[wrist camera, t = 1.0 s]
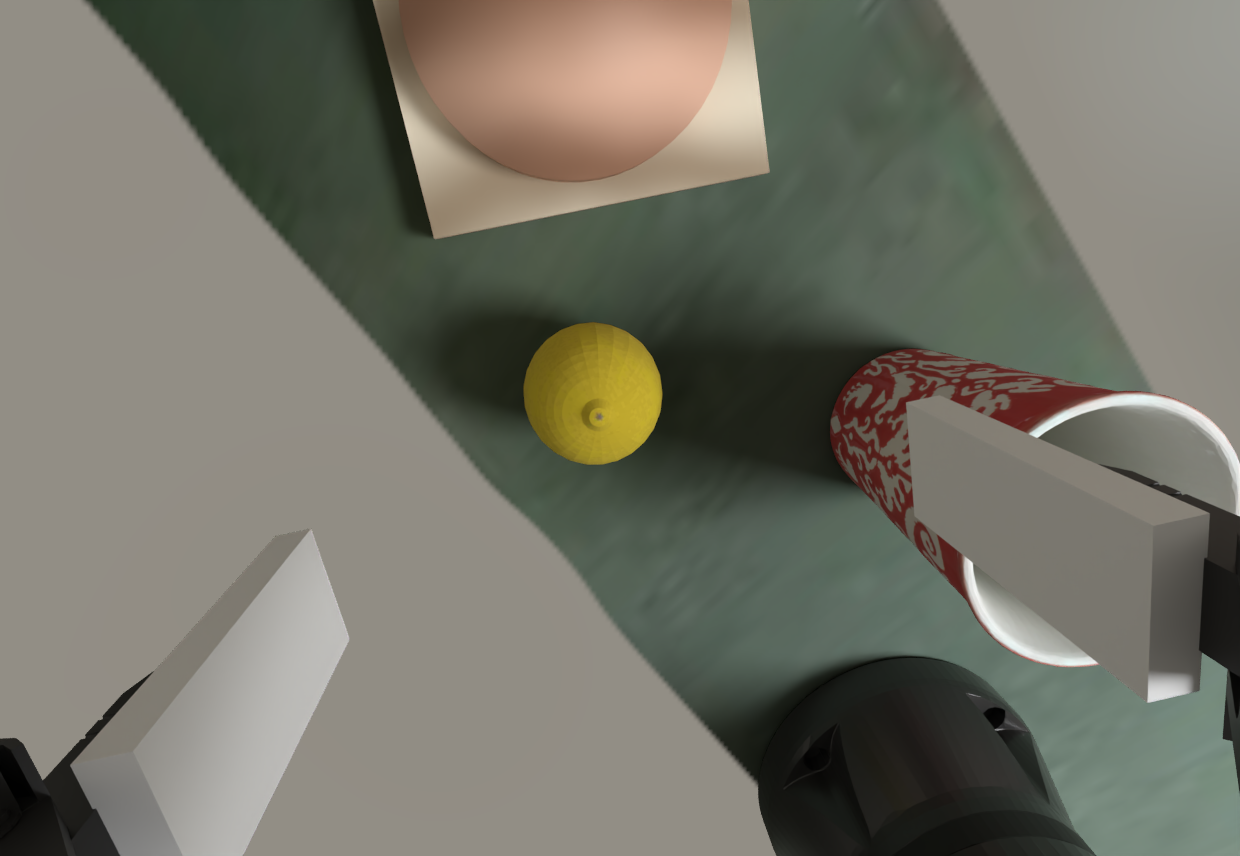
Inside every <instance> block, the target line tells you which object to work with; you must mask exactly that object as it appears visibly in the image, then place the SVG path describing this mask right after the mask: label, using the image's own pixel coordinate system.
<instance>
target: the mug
mask: <svg viewBox="0 0 1240 856" xmlns="http://www.w3.org/2000/svg"><path fill="white" fill-rule="evenodd" d="M938 395H940V396H942V397H945V398H947V399H949V400H952V401H954V402H956V403H958V404H961V405H963V406H965V407H968V408H970V409H972V410H975V411H977V412H979V413H981V414H984V415H986V416H988V417H991V418H993V419H995V420H997V421H1000V422H1002V423H1004V424H1007V425H1009V426H1011V427H1013V428H1016V429H1018V430H1020V431H1023V432H1025V433H1027V434H1029V435H1032V436H1034V437H1036V438H1039V439H1041V440H1043V441H1046V442H1048V443H1050V444H1052V445H1055V446H1057V447H1059V448H1062V449H1064V450H1066V451H1068V452H1071V453H1073V454H1075V455H1078V456H1080V457H1082V458H1084V459H1087V460H1089V461H1091V462H1094V463H1096V464H1101V465H1106V466H1111V467H1115V468H1120V469H1125V470H1130V471H1133V472H1136V473H1138V474H1140V475H1143V476H1145V477H1147V478H1150V479H1152V480H1155V481H1157V482H1159V484H1160V485H1166V486H1169V487H1171V488H1174V489H1176V490H1178V491H1181V494H1182V495H1184V494H1188V495H1190V496H1192V497H1195V498H1197V499H1200V500H1202V501H1204V502H1207V503H1209V504H1211V505H1214V506H1216V507H1219V508H1221V509H1223V510H1226V511H1228V512H1230V513H1233V514H1235V515H1237V516H1240V463H1239V461H1238V457H1237V454H1236V452H1235V451H1234V449H1233V448H1232V445H1231V443H1230V442H1229V440H1228V439H1227V437H1226V436H1225V435H1224V433H1223V432H1222V431H1221V430H1220V429H1219V428H1218V427H1217V426H1216V425H1215V424H1214V423H1213V422H1212V421H1211V420H1210V419H1209V418H1208V417H1206V416H1205V415H1204V414H1203V413H1201V412H1200V411H1198V410H1197V409H1196V408H1194V407H1192V406H1190V405H1188V404H1186V403H1184V402H1181V401H1179V400H1177V399H1174V398H1171V397H1168V396H1165V395H1160V394H1155V393H1150V392H1141V391H1112V390H1107V389H1102V388H1097V387H1094V386H1090V385H1085V384H1080V383H1076V382H1071V381H1067V380H1062V379H1058V378H1054V377H1049V376H1044V375H1039V374H1033V373H1029V372H1025V371H1020V370H1016V369H1012V368H1006V367H1002V366H998V365H994V364H990V363H984V362H979V361H975V360H971V359H966V358H961V357H957V356H953V355H951V354H946V353H939V352H935V351H930V350H923V349H903V350H897V351H893V352H890V353H887V354H884V355H882V356H880V357H877V358H876V359H874V360H872V361H870V362H869V363H867V364H866V365H864V366H863V367H862V368H860V369H859V370H858V371H857V372H856V373H855V374H854V375H853V376H852V377H851V378H850V380H849V381H848V382H847V384H846V385H845V386H844V388H843V389H842V391H841V393H840V395H839V396H838V398H837V401H836V404H835V406H834V409H833V413H832V417H831V425H830V438H831V445H832V448H833V452H834V454H835V457H836V459H837V461H838V463H839V464H840V466H841V467H842V469H843V470H844V471H845V473H846V474H847V475H848V476H849V477H850V478H851V479H852V480H853V481H854V482H855V483H856V485H857V486H858V487H859V488H861V489H862V490H863V491H864V492H865V493H866V494H867V495H868V497H869V498H870V499H871V500H872V501H873V502H874V503H875V504H876V505H877V506H878V507H879V508H880V509H881V510H882V511H883V512H884V513H885V515H886V516H887V517H888V518H889V519H890V520H891V521H892V522H893V523H894V524H895V525H896V526H897V527H898V528H899V529H900V531H901V532H902V533H903V534H904V535H905V536H906V537H907V538H908V539H909V540H910V541H911V542H912V543H913V544H914V545H915V546H916V548H917V549H918V550H919V551H920V552H921V553H922V554H923V556H924V557H925V558H926V559H927V560H928V561H929V562H930V563H931V564H932V565H933V566H934V567H935V568H936V569H937V570H938V571H939V572H940V573H941V574H942V575H943V576H944V577H945V578H946V579H947V581H948V582H949V583H950V584H951V585H952V586H953V587H954V588H955V589H956V590H957V591H958V592H959V593H960V594H961V595H962V596H963V597H964V598H965V599H966V600H967V602H968V604H969V606H970V608H971V610H972V612H973V614H974V615H975V617H976V619H977V620H978V622H979V623H980V624H981V626H982V627H983V628H984V630H985V631H986V632H987V633H988V634H989V635H990V636H991V637H992V638H993V639H994V640H996V641H997V642H998V643H999V644H1000V645H1002V646H1003V647H1005V648H1006V649H1008V650H1010V651H1011V652H1013V653H1015V654H1017V655H1019V656H1021V657H1024V658H1026V659H1029V660H1031V661H1034V662H1037V663H1042V664H1047V665H1053V666H1057V667H1083V666H1092V665H1099V664H1098V663H1097V662H1096V661H1095V660H1093V659H1092V658H1091V657H1090V656H1089V655H1087V654H1086V653H1085V652H1084V651H1082V650H1081V649H1080V648H1079V647H1077V646H1076V645H1075V644H1074V643H1072V642H1071V641H1070V640H1069V639H1067V638H1066V637H1065V636H1064V635H1062V634H1061V633H1060V632H1059V631H1057V630H1056V629H1055V628H1054V627H1052V626H1051V625H1050V624H1049V623H1047V622H1046V621H1045V620H1044V619H1042V618H1041V617H1040V616H1039V615H1037V614H1036V613H1035V612H1034V611H1032V610H1031V609H1030V608H1029V607H1027V606H1026V605H1025V604H1024V603H1022V602H1021V601H1020V600H1019V599H1017V598H1016V597H1015V596H1014V595H1012V594H1011V593H1010V592H1009V591H1007V590H1006V589H1005V588H1004V587H1002V586H1001V585H1000V584H999V583H997V582H996V581H995V580H994V579H992V578H991V577H990V576H989V575H987V574H986V573H985V572H984V571H982V570H981V569H980V568H979V567H977V566H976V565H975V564H974V563H972V562H971V561H970V560H969V559H967V558H966V557H965V556H964V555H962V554H961V553H960V552H959V551H957V550H956V549H955V548H954V547H952V546H951V545H950V544H949V543H947V542H946V541H945V540H944V539H942V538H941V537H940V536H939V535H937V534H936V533H935V532H934V531H932V530H931V529H930V528H929V527H927V526H926V525H925V524H924V523H922V522H921V521H920V520H919V519H917V518H916V517H915V516H914V503H913V490H912V476H911V463H910V450H909V436H908V423H907V409H906V402H910V401H915V400H920V399H924V398H929V397H934V396H938Z"/></svg>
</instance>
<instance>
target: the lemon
mask: <svg viewBox="0 0 1240 856" xmlns="http://www.w3.org/2000/svg"><path fill="white" fill-rule="evenodd" d="M523 389H524V403H525V409H526V412H527V415H528V418H529V421H530V423H531V426H532V427H533V429H534V430H535V432H536V433H537V435H538V436H539V438H540V439H541V441H543V442H544V443H545V444H546V445H547V446H548V447H549V448H550V449H551V450H553V451H554V452H555V453H557V454H559V455H561V456H562V457H564V458H566V459H568V460H570V461H574V462H578V463H582V464H606V463H610V462H614V461H618V460H620V459H622V458H624V457H626V456H628V455H630V454H632V453H633V452H634V451H635V450H636V449H637V448H639V447H640V446H641V445H642V444H643V443H644V442H645V441H646V439H647V438H648V436H649V435H650V434H651V432H652V431H653V429H654V427H655V425H656V422H657V419H658V417H659V414H660V411H661V403H662V394H663V393H662V386H661V379H660V374H659V371H658V369H657V367H656V364H655V362H654V360H653V357H652V356H651V355H650V353H649V352H648V351H647V349H646V348H645V347H644V345H643V344H642V343H641V342H640V341H638V340H637V339H636V338H635V337H633V336H632V335H631V334H629V333H628V332H626V331H624V330H622V329H619V328H617V327H615V326H612V325H608V324H602V323H595V322H591V323H582V324H575V325H573V326H570V327H567V328H565V329H562V330H560V331H558V332H557V333H556V334H554V335H553V336H551V337H550V338H548V339H547V340H546V341H545V342H544V343H543V344H542V346H541V347H540V348H539V349H538V350H537V352H536V353H535V354H534V356H533V358H532V360H531V362H530V364H529V367H528V369H527V372H526V377H525V382H524V387H523Z"/></svg>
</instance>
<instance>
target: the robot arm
mask: <svg viewBox="0 0 1240 856" xmlns="http://www.w3.org/2000/svg"><path fill="white" fill-rule="evenodd" d="M906 409H907V423H908V436H909V450H910V463H911V476H912V490H913V503H914V516H915V517H916V518H917V519H919V520H920V521H921V522H922V523H924V524H925V525H926V526H927V527H929V528H930V529H931V530H932V531H934V532H935V533H936V534H937V535H939V536H940V537H941V538H942V539H944V540H945V541H946V542H947V543H949V544H950V545H951V546H952V547H954V548H955V549H956V550H957V551H959V552H960V553H961V554H962V555H964V556H965V557H966V558H967V559H969V560H970V561H971V562H972V563H974V564H975V565H976V566H977V567H979V568H980V569H981V570H982V571H984V572H985V573H986V574H987V575H989V576H990V577H991V578H992V579H994V580H995V581H996V582H997V583H999V584H1000V585H1001V586H1002V587H1004V588H1005V589H1006V590H1007V591H1009V592H1010V593H1011V594H1012V595H1014V596H1015V597H1016V598H1017V599H1019V600H1020V601H1021V602H1022V603H1024V604H1025V605H1026V606H1027V607H1029V608H1030V609H1031V610H1032V611H1034V612H1035V613H1036V614H1037V615H1039V616H1040V617H1041V618H1042V619H1044V620H1045V621H1046V622H1047V623H1049V624H1050V625H1051V626H1052V627H1054V628H1055V629H1056V630H1057V631H1059V632H1060V633H1061V634H1062V635H1064V636H1065V637H1066V638H1067V639H1069V640H1070V641H1071V642H1072V643H1074V644H1075V645H1076V646H1077V647H1079V648H1080V649H1081V650H1082V651H1084V652H1085V653H1086V654H1087V655H1089V656H1090V657H1091V658H1092V659H1093V660H1095V661H1096V662H1097V663H1098V664H1100V665H1101V666H1102V667H1103V668H1105V669H1106V670H1107V671H1108V672H1110V673H1111V674H1112V675H1113V676H1115V677H1116V678H1117V679H1118V680H1120V681H1121V682H1122V683H1123V684H1125V685H1126V686H1127V687H1128V688H1130V689H1131V690H1132V691H1133V692H1135V693H1136V694H1137V695H1138V696H1140V697H1141V698H1142V699H1143V700H1145V701H1146V702H1147V703H1149V702H1153V701H1157V700H1162V699H1166V698H1171V697H1175V696H1179V695H1184V694H1188V693H1192V692H1197V691H1199V690H1200V673H1201V656H1202V653H1204V654H1205V655H1207V656H1208V657H1210V658H1212V659H1213V660H1215V661H1216V662H1218V663H1219V664H1221V665H1222V666H1224V667H1225V668H1227V669H1228V672H1227V686H1226V700H1225V714H1224V728H1223V739H1225V740H1230V741H1233V748H1234V755H1235V762H1236V770H1237V777H1238V784H1239V791H1240V516H1237V515H1235V514H1233V513H1230V512H1228V511H1226V510H1223V509H1221V508H1219V507H1216V506H1214V505H1211V504H1209V503H1207V502H1204V501H1202V500H1200V499H1197V498H1195V497H1192V496H1190V495H1188V494H1184V495H1182V494H1181V491H1178V490H1176V489H1174V488H1171V487H1169V486H1166V485H1160V484H1159V482H1157V481H1155V480H1152V479H1150V478H1147V477H1145V476H1143V475H1140V474H1138V473H1136V472H1133V471H1130V470H1125V469H1120V468H1115V467H1111V466H1106V465H1101V464H1096V463H1094V462H1091V461H1089V460H1087V459H1084V458H1082V457H1080V456H1078V455H1075V454H1073V453H1071V452H1068V451H1066V450H1064V449H1062V448H1059V447H1057V446H1055V445H1052V444H1050V443H1048V442H1046V441H1043V440H1041V439H1039V438H1036V437H1034V436H1032V435H1029V434H1027V433H1025V432H1023V431H1020V430H1018V429H1016V428H1013V427H1011V426H1009V425H1007V424H1004V423H1002V422H1000V421H997V420H995V419H993V418H991V417H988V416H986V415H984V414H981V413H979V412H977V411H975V410H972V409H970V408H968V407H965V406H963V405H961V404H958V403H956V402H954V401H952V400H949V399H947V398H945V397H942V396H940V395H938V396H934V397H929V398H924V399H920V400H915V401H910V402H906ZM348 641H349V636H348V633H347V630H346V627H345V625H344V622H343V618H342V616H341V613H340V610H339V607H338V604H337V601H336V599H335V596H334V593H333V590H332V587H331V584H330V581H329V579H328V575H327V573H326V570H325V567H324V564H323V561H322V558H321V555H320V553H319V550H318V547H317V544H316V541H315V539H314V535H313V532H312V530H311V529H306V530H302V531H297V532H292V533H288V534H283V535H279V536H275V537H274V538H273V539H272V540H271V542H270V543H269V544H268V545H267V546H266V547H265V548H264V549H263V550H262V551H261V553H260V554H259V555H258V556H257V557H256V558H255V559H254V561H253V562H252V563H251V564H250V565H249V566H248V567H247V568H246V569H245V570H244V572H243V573H242V574H241V575H240V576H239V577H238V578H237V579H236V581H235V582H234V583H233V584H232V585H231V586H230V587H229V588H228V590H227V591H226V592H225V593H224V594H223V595H222V596H221V598H219V600H218V601H217V602H216V603H215V604H214V605H213V606H212V607H211V609H210V610H209V611H208V612H207V613H206V614H205V615H204V616H203V617H202V619H201V620H200V621H199V622H198V623H197V624H196V625H195V626H194V628H193V629H192V630H191V631H190V632H189V633H188V634H187V635H186V636H185V637H184V639H183V640H182V641H181V642H180V643H179V644H178V645H177V646H176V648H175V649H174V650H173V651H172V652H171V653H170V654H169V655H168V657H167V658H166V659H165V660H164V661H163V662H162V663H161V664H160V665H159V667H158V668H157V669H156V670H155V671H153V672H152V673H150V674H149V675H148V676H146V677H145V678H144V679H142V680H141V681H139V682H138V683H137V684H135V685H134V686H133V687H131V688H130V689H129V690H127V691H126V692H125V693H123V694H122V695H121V696H120V697H119V699H118V700H117V701H116V702H115V703H114V704H113V705H112V706H111V707H110V708H109V709H108V711H107V712H106V713H105V714H104V715H103V720H98V721H97V723H96V724H95V725H94V726H93V727H92V728H91V729H90V730H89V731H88V732H87V734H86V735H85V736H86V738H85V739H81V740H80V741H79V742H78V743H77V744H76V745H75V746H74V748H73V749H72V750H71V751H70V752H69V753H68V754H67V755H66V756H65V757H64V758H63V759H62V761H61V762H60V763H59V764H58V765H57V766H56V767H55V768H54V769H53V771H52V772H51V773H50V774H49V775H48V776H47V777H46V778H45V779H44V780H42V779H41V777H40V775H39V773H38V771H37V769H36V767H35V765H34V763H33V762H32V760H31V758H30V756H29V754H28V752H27V750H26V748H25V747H24V745H23V743H21V742H20V741H19V740H18V739H16V738H8V739H7V738H6V739H0V856H243V855H244V853H245V851H246V849H247V847H248V845H249V843H250V841H251V839H252V837H253V835H254V833H255V830H256V829H257V827H258V824H259V822H260V820H261V818H262V816H263V814H264V812H265V810H266V808H267V806H268V804H269V802H270V800H271V798H272V796H273V794H274V792H275V790H276V788H277V786H278V784H279V782H280V780H281V778H282V776H283V774H284V772H285V770H286V768H287V766H288V763H289V761H290V759H291V757H292V755H293V753H294V751H295V749H296V747H297V745H298V743H299V741H300V739H301V737H302V735H303V733H304V731H305V729H306V727H307V725H308V723H309V721H310V719H311V717H312V714H313V713H314V711H315V709H316V707H317V705H318V702H319V700H320V698H321V696H322V694H323V692H324V690H325V688H326V686H327V684H328V682H329V680H330V678H331V676H332V674H333V672H334V670H335V668H336V666H337V664H338V662H339V660H340V658H341V656H342V654H343V652H344V649H345V648H346V646H347V644H348ZM758 798H759V806H760V810H761V815H762V818H763V821H764V824H765V826H766V829H767V832H768V835H769V837H770V840H771V843H772V846H773V849H774V851H775V853H776V855H777V856H1096V855H1095V854H1094V852H1093V851H1092V850H1091V849H1090V848H1089V847H1088V845H1087V844H1086V843H1085V842H1084V840H1083V839H1082V838H1081V837H1080V836H1079V835H1078V833H1077V832H1076V831H1075V830H1074V828H1073V825H1072V823H1071V821H1070V819H1069V816H1068V814H1067V812H1066V809H1065V807H1064V805H1063V803H1062V800H1061V798H1060V796H1059V794H1058V791H1057V789H1056V787H1055V784H1054V782H1053V780H1052V778H1051V775H1050V773H1049V771H1048V769H1047V766H1046V764H1045V762H1044V760H1043V757H1042V755H1041V753H1040V750H1039V748H1038V746H1037V744H1036V741H1035V739H1034V737H1033V735H1032V734H1031V732H1030V730H1029V729H1028V727H1027V726H1026V724H1025V723H1024V721H1023V720H1022V719H1021V717H1020V716H1019V715H1018V714H1017V713H1016V712H1015V710H1014V709H1013V708H1012V707H1011V706H1010V705H1009V704H1008V703H1007V702H1006V701H1005V700H1004V699H1003V698H1002V697H1001V696H1000V695H999V694H998V693H997V692H996V691H995V690H994V688H992V687H991V686H990V685H989V684H988V683H987V682H986V681H984V680H983V679H982V678H980V677H979V676H977V675H976V674H974V673H972V672H970V671H968V670H966V669H964V668H962V667H959V666H957V665H954V664H951V663H948V662H943V661H939V660H933V659H925V658H899V659H891V660H885V661H880V662H875V663H871V664H868V665H865V666H862V667H859V668H856V669H853V670H851V671H848V672H846V673H844V674H842V675H840V676H838V677H836V678H834V679H832V680H831V681H829V682H827V683H826V684H824V685H823V686H821V687H820V688H818V689H817V690H815V691H814V692H813V693H811V694H810V695H809V696H808V697H806V698H805V699H804V700H803V701H802V702H801V703H800V704H799V705H798V706H797V707H796V708H795V709H794V710H793V711H792V712H791V713H790V714H789V715H788V717H787V718H786V719H785V720H784V721H783V723H782V724H781V726H780V727H779V729H778V730H777V732H776V733H775V735H774V737H773V738H772V740H771V742H770V744H769V746H768V749H767V751H766V753H765V756H764V759H763V762H762V766H761V770H760V776H759V785H758Z"/></svg>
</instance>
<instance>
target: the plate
mask: <svg viewBox="0 0 1240 856" xmlns="http://www.w3.org/2000/svg"><path fill="white" fill-rule="evenodd" d="M373 3H374V7H375V11H376V15H377V18H378V22H379V26H380V30H381V34H382V38H383V42H384V46H385V49H386V53H387V57H388V61H389V65H390V69H391V73H392V77H393V81H394V84H395V88H396V92H397V96H398V100H399V104H400V108H401V112H402V115H403V119H404V123H405V127H406V131H407V135H408V139H409V143H410V147H411V150H412V154H413V158H414V162H415V166H416V170H417V174H418V178H419V181H420V185H421V189H422V193H423V197H424V201H425V205H426V209H427V213H428V216H429V220H430V224H431V228H432V232H433V236H434V239H441V238H446V237H451V236H456V235H461V234H467V233H472V232H477V231H482V230H487V229H492V228H497V227H502V226H507V225H512V224H517V223H522V222H527V221H532V220H537V219H542V218H547V217H552V216H557V215H562V214H567V213H572V212H577V211H582V210H587V209H592V208H597V207H602V206H607V205H612V204H617V203H622V202H627V201H632V200H638V199H643V198H648V197H653V196H658V195H663V194H668V193H673V192H678V191H683V190H688V189H693V188H698V187H703V186H708V185H713V184H718V183H723V182H728V181H733V180H738V179H743V178H748V177H753V176H758V175H762V174H766V173H769V164H768V156H767V148H766V139H765V131H764V123H763V115H762V107H761V99H760V91H759V83H758V74H757V66H756V58H755V50H754V42H753V34H752V26H751V17H750V9H749V1H748V0H373Z"/></svg>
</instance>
